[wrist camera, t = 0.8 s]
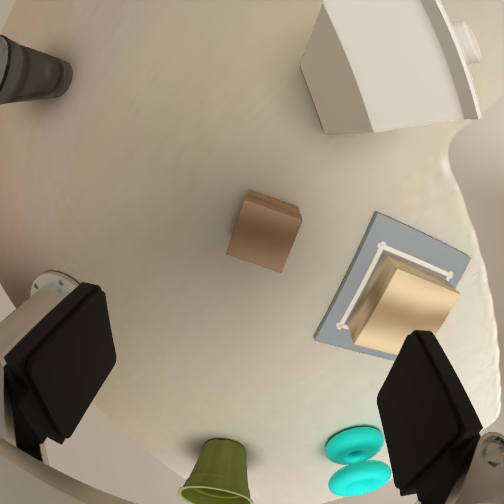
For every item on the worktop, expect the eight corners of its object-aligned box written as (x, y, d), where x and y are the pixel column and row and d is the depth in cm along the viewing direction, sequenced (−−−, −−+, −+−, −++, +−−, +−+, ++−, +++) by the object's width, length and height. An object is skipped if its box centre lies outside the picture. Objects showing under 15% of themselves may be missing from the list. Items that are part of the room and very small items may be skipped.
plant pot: (195, 423, 43) (180, 480, 32) (266, 438, 43) (262, 496, 33) (187, 454, 47) (175, 502, 37) (248, 467, 48) (243, 516, 37)
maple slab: (407, 339, 33) (417, 359, 29) (346, 322, 33) (353, 344, 29) (444, 277, 30) (460, 294, 26) (383, 252, 29) (397, 268, 26)
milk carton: (324, 134, 27) (408, 134, 9) (299, 65, 24) (335, -38, 7) (391, 117, 25) (530, 111, 8) (367, 51, 23) (474, -32, 5)
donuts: (368, 498, 35) (317, 498, 35) (361, 455, 45) (314, 450, 44) (405, 472, 32) (352, 472, 31) (392, 426, 41) (343, 420, 40)
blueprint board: (405, 359, 35) (407, 363, 35) (313, 336, 35) (314, 340, 34) (467, 255, 29) (471, 258, 29) (375, 210, 29) (378, 213, 28)
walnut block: (280, 251, 31) (280, 272, 27) (233, 235, 31) (226, 254, 26) (298, 206, 29) (302, 220, 25) (249, 189, 29) (244, 199, 24)
